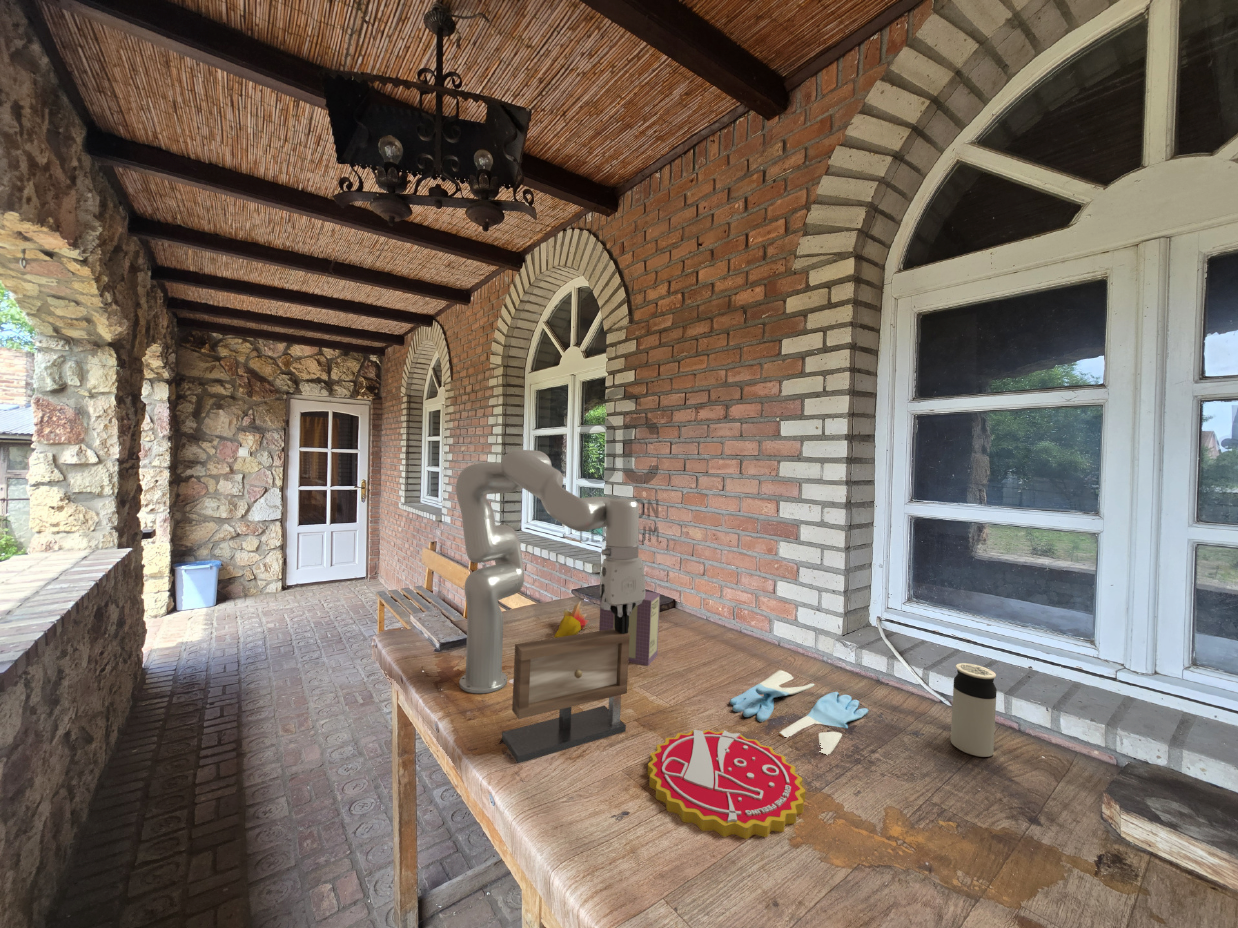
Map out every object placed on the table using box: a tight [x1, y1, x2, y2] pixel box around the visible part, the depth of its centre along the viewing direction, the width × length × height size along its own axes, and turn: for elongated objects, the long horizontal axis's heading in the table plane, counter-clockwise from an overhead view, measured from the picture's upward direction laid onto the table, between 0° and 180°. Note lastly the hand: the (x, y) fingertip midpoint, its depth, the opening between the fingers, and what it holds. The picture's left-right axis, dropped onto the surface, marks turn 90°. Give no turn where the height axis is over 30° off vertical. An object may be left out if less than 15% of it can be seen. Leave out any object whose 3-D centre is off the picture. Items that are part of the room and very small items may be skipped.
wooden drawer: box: [511, 628, 630, 720], centre depth 110 cm, size 5×26×14 cm, turn 121°
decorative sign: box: [647, 729, 806, 840], centre depth 100 cm, size 30×3×30 cm
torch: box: [553, 600, 590, 638], centre depth 175 cm, size 8×8×25 cm
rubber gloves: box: [729, 669, 869, 757], centre depth 130 cm, size 27×33×6 cm
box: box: [598, 590, 661, 667], centre depth 160 cm, size 17×9×20 cm, turn 68°
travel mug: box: [950, 662, 998, 758], centre depth 115 cm, size 8×8×18 cm
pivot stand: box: [501, 695, 627, 764], centre depth 113 cm, size 10×26×16 cm, turn 121°
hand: (621, 631), depth 116 cm, fingers closed
